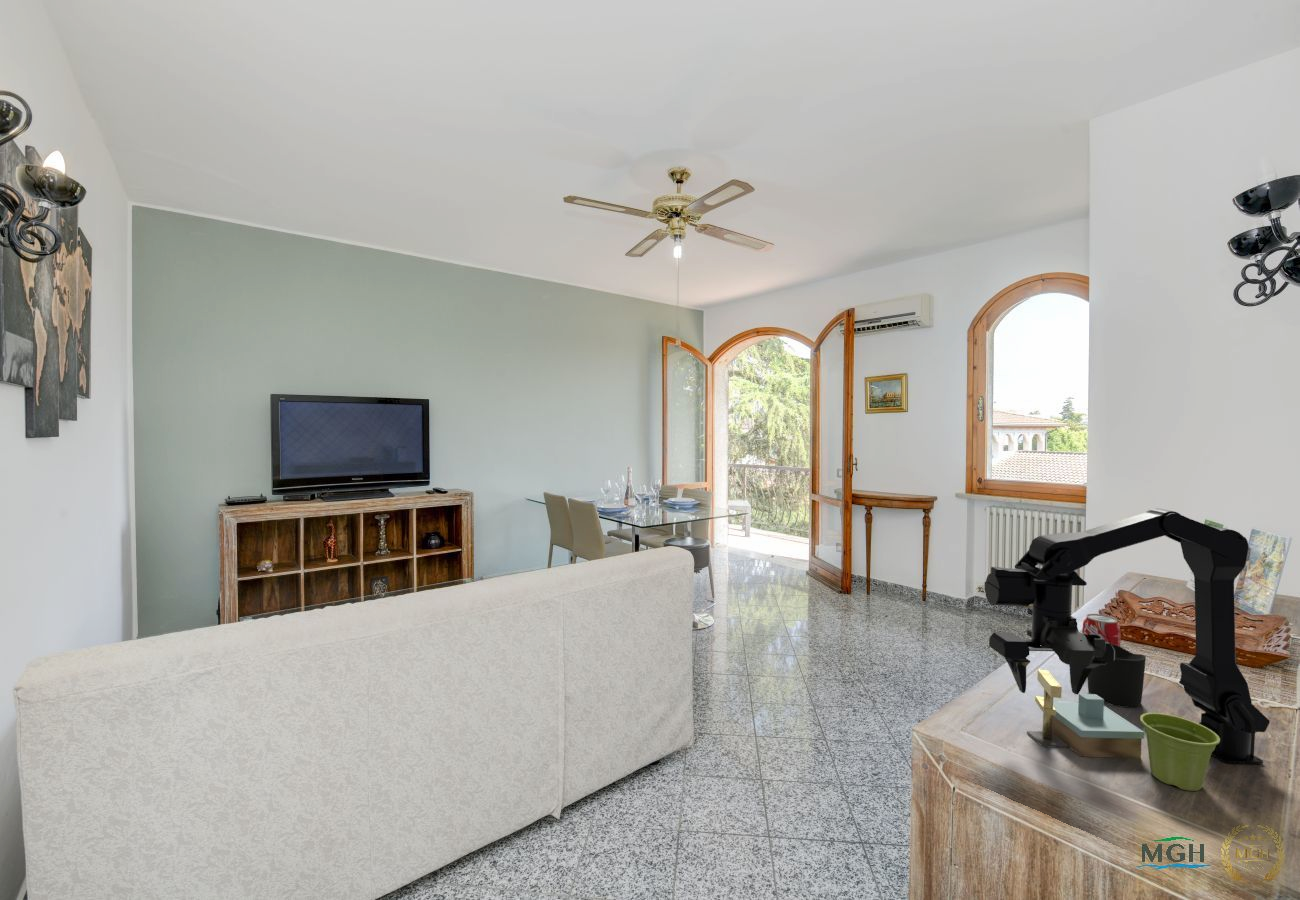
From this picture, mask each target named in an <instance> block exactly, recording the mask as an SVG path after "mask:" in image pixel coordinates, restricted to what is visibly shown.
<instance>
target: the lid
mask: <svg viewBox="0 0 1300 900" xmlns="http://www.w3.org/2000/svg"><path fill="white" fill-rule="evenodd" d="M1053 707H1054V708H1055V709H1056V716H1055V715H1053V716H1054V717H1056V718H1057V719H1058V720H1059V721H1061V722H1062V723H1063V724H1065V725H1066V726H1067V727H1069V728H1070V729H1071V730H1072V731H1074V732H1075V733H1076V734H1078V735H1079V736H1080V737H1090V738H1134V739H1145V730H1142V729H1140V728H1139V727H1138V726H1137V725H1135V724H1133V723H1132V722H1130V721H1128V720H1127V719H1126V718H1123V717H1122V716H1120V715H1119V714H1117V713H1116V712H1114V711H1113V710H1111V709H1110V708H1108V707H1107V706H1106V705H1105V702H1104V699H1102V698H1101V697H1099V696H1098V695H1096V694H1090V693H1079V694H1078V701H1063V700H1062V701H1058V700H1057V701H1056V700H1053Z"/></svg>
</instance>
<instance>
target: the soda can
mask: <svg viewBox="0 0 1300 900" xmlns="http://www.w3.org/2000/svg"><path fill="white" fill-rule="evenodd" d="M1118 623H1119V621H1118V619H1117V618H1115V617H1112V616H1110V615H1105V614H1099V613H1088V614H1086V618H1085V619H1084V620H1083V622H1082V628H1081V629H1082V632H1081V633H1087V634H1101V635H1102V636H1103V637H1104V638H1105V641H1106V642H1108V643H1110V644H1114V645H1117V646H1120V647H1121V642H1122V641H1121V637H1122V636H1121V635H1122V633H1121V632H1122V631H1121V627H1120V624H1118Z"/></svg>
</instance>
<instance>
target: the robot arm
mask: <svg viewBox="0 0 1300 900" xmlns="http://www.w3.org/2000/svg"><path fill="white" fill-rule="evenodd" d="M1164 536H1165V537H1167V538H1168V539H1170V540H1172V541H1175V542H1177V543H1179V544H1180V548H1181V552H1182V557H1183V559H1184V560H1185V562H1186V564H1187V566H1188V568H1189V569H1190V571H1191V572H1192V574H1193V577H1194V613H1195V614H1194V617H1195V618H1194V619H1195V620H1194V621H1195V622H1194V623H1195V656H1194V657H1193V658H1192V659H1191V661H1189V663H1188V662H1182V661H1181V662H1180V664H1179V669H1180V680H1179V684H1180V685H1181V686H1183V691H1184V692H1185V694H1187V695H1188V696H1189V697H1190V698H1191V701H1192V703H1193V706H1194V707H1195V708H1198V709H1200V710H1202V711H1204V713H1203V712H1201V714H1200V715H1201V716H1200V722H1199V723H1198V724H1200V725H1203V726H1205V727H1206V728H1208V729H1210V730H1212V731H1213V732H1215V733H1216V734H1217V735H1218V736H1219V738H1220V743H1219V744H1217V745H1216V746H1215V749H1214V751H1213V752H1212V753H1211V756H1212V757H1214V758H1216V759H1218V760H1219V761H1221V762H1223V763H1226V764H1247V765H1249V764H1250V765H1251V764H1253V765H1255V764H1256V765H1263V764H1264V760H1263V759H1262V758H1260V757H1258V756H1256V755H1255V744H1256V743H1255V740H1256V733H1265V732H1266V731H1267V729H1268V727H1269V724H1270V722H1271V721H1270V720H1269V719H1268V718H1267V717H1266V716H1265V715H1264V714H1263V713H1262V711H1260V710H1259V709H1258V708H1257V707H1255V705H1254V704H1253V703H1252V697H1251V693H1250V687H1249V684H1248V682H1247V680H1246V678H1245V677H1244V675H1243V673H1242V672H1241V669H1240V668H1239V666H1238V665H1237V661H1236V660H1237V658H1236V617H1235V616H1236V614H1235V613H1236V612H1235V611H1236V610H1235V580H1236V578H1237V577H1238V576H1239V575H1240V574H1241V572H1242V571H1243V570H1244V569H1245V567H1246V566H1247V565H1246V564H1247V560H1248V559H1247V558H1248V556H1249V555H1248V553H1249V547H1250V545H1249V542H1248V539H1247V537H1245V536H1244V535H1243V534H1241V533H1240V532H1239V531H1236V530H1234V529H1229V528H1225V527H1221V526H1216V525H1211V524H1206V523H1202V522H1199V521H1197V520H1194V519H1192V518H1190V517H1186V516H1184V515H1182V514H1181V513H1179V512H1177V511H1173V510H1168V509H1163V508H1157V507H1156V508H1151V509H1149V510H1147V511H1145V512H1143V513H1139V514H1136V515H1133V516H1130V517H1126V518H1122V519H1119V520H1116V521H1113V522H1109V523H1106V524H1103V525H1101V526H1100V525H1099V526H1096V527H1093V528H1089V529H1086V530H1083V531H1076V532H1057V533H1051V534H1043V535H1038V536H1037V537H1034V538H1033V539H1032V540H1031V543H1030V545H1029V549H1028V550H1027V551H1026V553H1025V554H1023V555H1022V557H1021V558H1020V559H1019V561H1017V563H1015V565H1014V568H1006V567H999V566H991V567H990V573H988V574H987V577H986V580H985V581H984V593H985V598H986V600H987V602H988V603H989V605H991V606H996V607H997V606H998V607H999V606H1000V607H1002V606H1003V607H1018V608H1019V607H1021V608H1027V614H1029V615H1030V616H1031V629H1027V630H1026V635H1027V636H1028V637H1029V638H1031V639H1027V638H1026V639H1023V638H1021V637H1020V636H1018V635H1017V634H1015V633H1014V632H1000V631H999V632H998V631H997V632H996V631H995V632H992V634H991V635H990V636H989V639H988V640H989V642H988V643H989V644H988V647H990V648H991V649H992V650H994V651H995V652H997V653H998V654H999V655H1000V656H1002V657H1004V659H1005V661H1006V663H1007V664H1008V667H1009V669H1010V672H1011V673H1012V676H1013V679H1014V680H1015V683H1016V685H1017V687H1018V688H1017V689H1018V690H1019V692H1021V693H1023V694H1026V690H1027V666H1028V665H1029V664H1030V663H1031V660H1030V659H1028V658H1027V657H1029V656H1030V652H1031V651H1032V652H1034V651H1035V652H1054V654H1056V656H1057V657H1058V659H1059V660H1060V662H1062V663H1064V664H1065V665H1067V666H1069V679H1070V680H1069V681H1070V687H1071V692H1072V693H1073V694H1074V695H1079V694H1080V692H1081V690H1082V688H1083V686H1084V685H1085V683H1086V681H1087V679H1088V675H1089V674H1090V672H1091V671H1092V670H1093V669H1094V668H1095V667H1098V666H1100V665H1105V664H1106V663H1107V662H1106V661H1114V660H1115V650H1114V648H1113V646H1112V645H1111V644H1110V643H1108V642H1106V641H1105V638H1104V637H1103V636H1102V635H1101V634H1087V633H1082V632H1080V630H1079V629H1078V628H1079V627H1078V622H1077V617H1074V616H1072V605H1073V604H1072V603H1073V602H1072V601H1073V586H1080V587H1081V586H1082V587H1083V586H1087V584H1088V583H1087V582H1086V580H1084V579H1083V578H1082V577H1080V575H1079V574H1078V573H1077V570H1079V569H1081V568H1083V567H1085V566H1087V565H1088V564H1089V563H1090V562H1092V561H1093V560H1094V558H1096V557H1098V556H1101V555H1104V554H1107V553H1110V552H1114V551H1117V550H1120V549H1123V548H1127V547H1131V546H1134V545H1137V544H1141V543H1145V542H1148V541H1151V540H1155V539H1158V538H1161V537H1164ZM1038 566H1040V567H1041V568H1040V567H1038ZM1030 605H1032V607H1029V606H1030Z"/></svg>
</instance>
